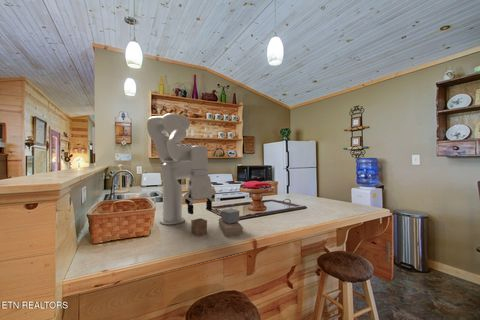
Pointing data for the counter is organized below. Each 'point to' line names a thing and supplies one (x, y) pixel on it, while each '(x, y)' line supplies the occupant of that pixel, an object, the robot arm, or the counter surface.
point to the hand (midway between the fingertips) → (200, 211)
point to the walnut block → (198, 227)
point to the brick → (230, 228)
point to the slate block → (230, 216)
